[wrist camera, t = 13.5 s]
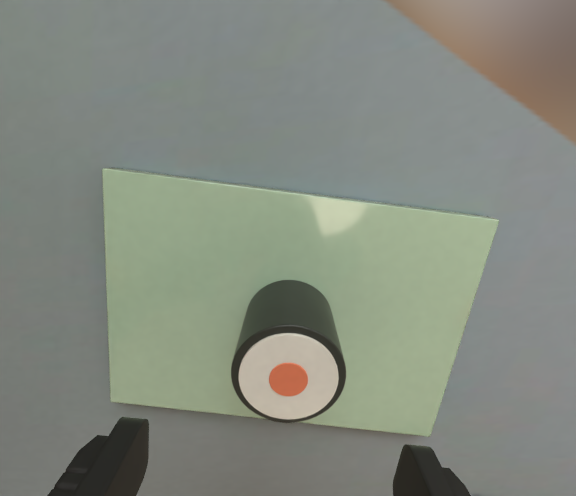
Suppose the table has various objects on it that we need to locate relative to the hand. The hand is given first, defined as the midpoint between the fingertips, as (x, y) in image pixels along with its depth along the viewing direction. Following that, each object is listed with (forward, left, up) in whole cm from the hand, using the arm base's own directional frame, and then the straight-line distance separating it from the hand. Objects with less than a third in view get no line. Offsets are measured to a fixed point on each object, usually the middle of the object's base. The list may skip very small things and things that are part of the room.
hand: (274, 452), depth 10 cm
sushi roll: (0, 0, -8) cm, 8 cm away
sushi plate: (0, 0, -9) cm, 9 cm away
